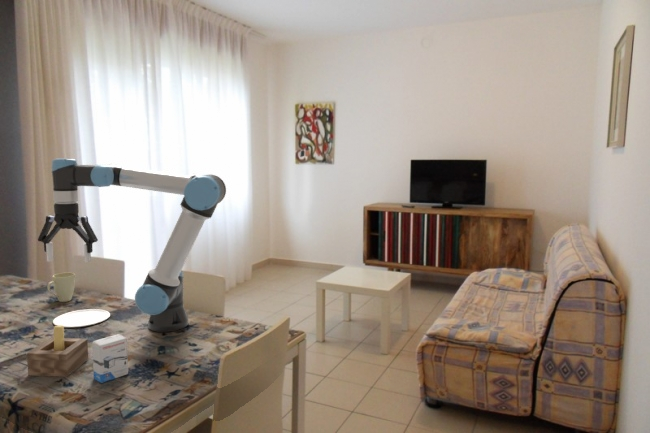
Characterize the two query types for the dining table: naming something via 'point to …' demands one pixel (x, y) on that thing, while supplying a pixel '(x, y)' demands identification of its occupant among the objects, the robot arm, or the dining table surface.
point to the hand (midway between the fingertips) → (69, 261)
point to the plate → (81, 318)
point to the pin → (59, 338)
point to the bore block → (57, 357)
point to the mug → (63, 286)
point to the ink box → (110, 358)
